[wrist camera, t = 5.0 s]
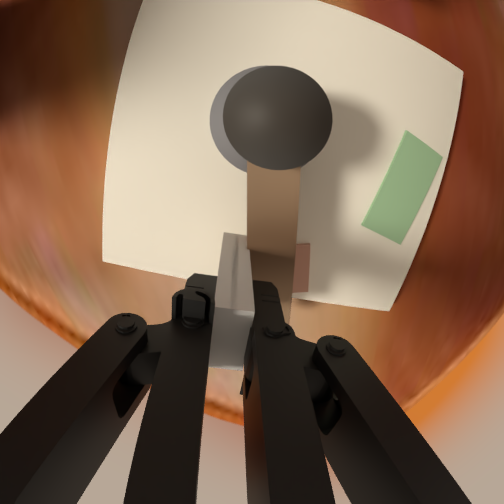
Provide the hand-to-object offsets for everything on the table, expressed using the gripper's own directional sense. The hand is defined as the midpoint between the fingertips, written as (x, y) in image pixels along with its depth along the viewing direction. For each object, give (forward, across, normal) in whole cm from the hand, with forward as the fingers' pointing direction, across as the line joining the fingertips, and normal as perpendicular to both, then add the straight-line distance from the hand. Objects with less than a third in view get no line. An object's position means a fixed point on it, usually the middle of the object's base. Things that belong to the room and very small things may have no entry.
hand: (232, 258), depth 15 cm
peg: (+1, +2, +2) cm, 3 cm away
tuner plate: (+3, +2, +6) cm, 7 cm away
